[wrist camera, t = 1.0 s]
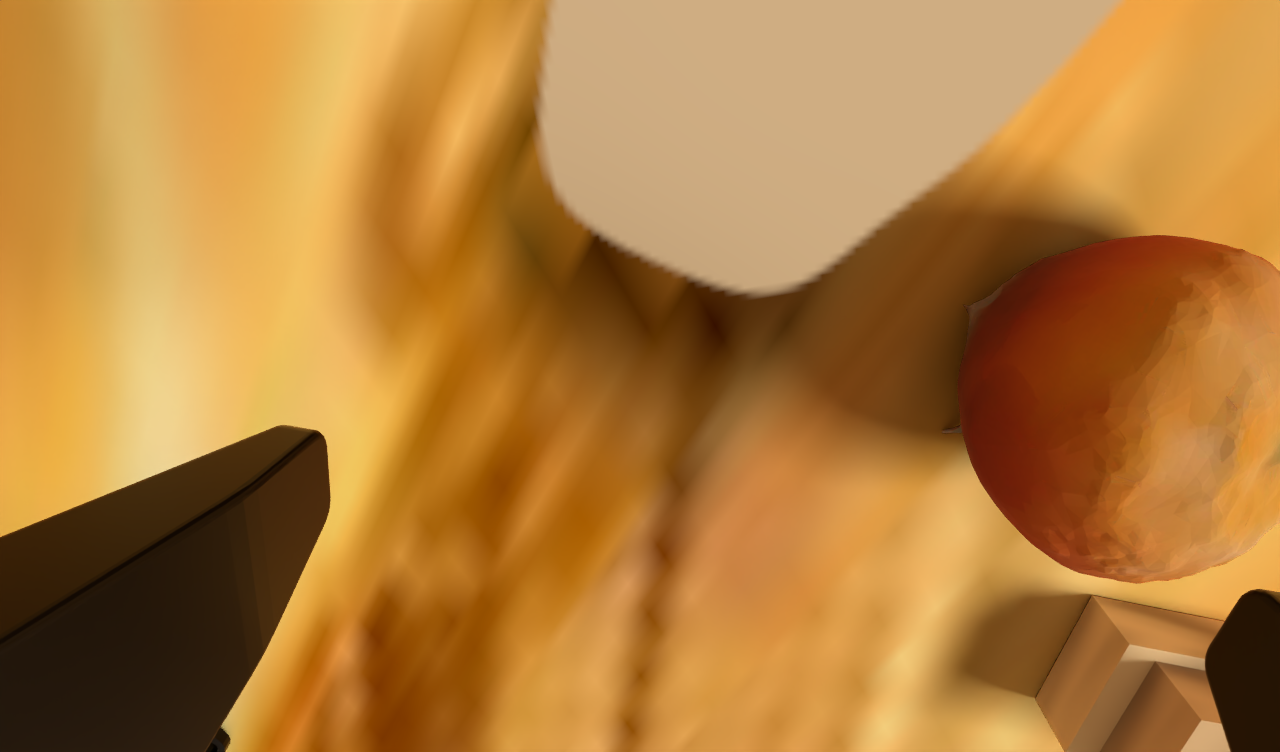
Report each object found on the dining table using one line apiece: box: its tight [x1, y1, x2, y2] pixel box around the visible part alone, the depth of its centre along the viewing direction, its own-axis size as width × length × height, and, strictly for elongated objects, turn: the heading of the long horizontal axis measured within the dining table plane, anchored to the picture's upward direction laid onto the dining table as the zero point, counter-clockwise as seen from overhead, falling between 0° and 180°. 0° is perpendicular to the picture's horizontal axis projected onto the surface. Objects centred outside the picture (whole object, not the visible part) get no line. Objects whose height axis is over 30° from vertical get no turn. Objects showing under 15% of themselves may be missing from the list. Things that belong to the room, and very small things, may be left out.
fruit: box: [942, 235, 1280, 583], centre depth 20 cm, size 8×8×8 cm
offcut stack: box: [1035, 595, 1230, 752], centre depth 25 cm, size 7×4×4 cm, turn 78°
